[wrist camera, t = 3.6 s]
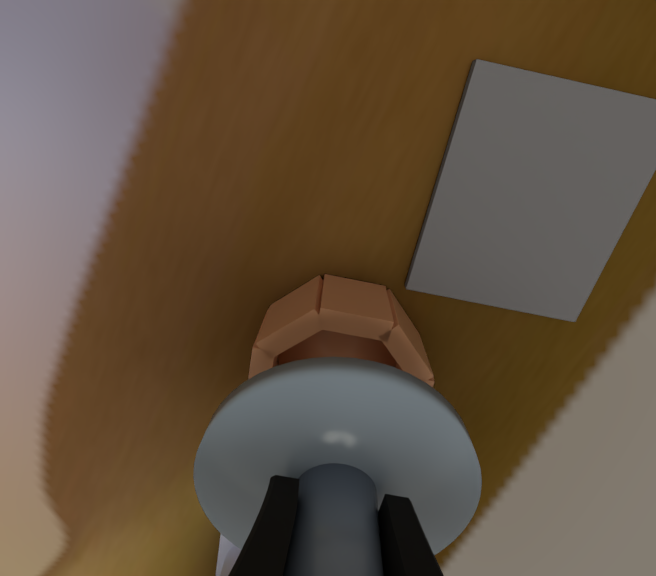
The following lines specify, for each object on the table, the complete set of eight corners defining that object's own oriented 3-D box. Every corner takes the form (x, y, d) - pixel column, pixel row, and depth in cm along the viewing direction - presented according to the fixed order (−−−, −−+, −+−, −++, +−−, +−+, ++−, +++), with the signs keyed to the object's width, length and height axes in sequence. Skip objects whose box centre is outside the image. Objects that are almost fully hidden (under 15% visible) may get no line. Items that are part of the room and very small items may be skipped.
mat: (569, 317, 16) (575, 322, 16) (404, 284, 16) (406, 289, 15) (678, 107, 13) (689, 106, 12) (472, 60, 12) (476, 59, 12)
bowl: (392, 417, 18) (400, 470, 16) (255, 393, 18) (239, 442, 15) (434, 295, 16) (452, 333, 13) (274, 264, 15) (259, 295, 13)
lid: (418, 569, 13) (448, 750, 9) (191, 526, 12) (128, 698, 9) (519, 394, 10) (623, 562, 6) (220, 326, 9) (140, 465, 6)
